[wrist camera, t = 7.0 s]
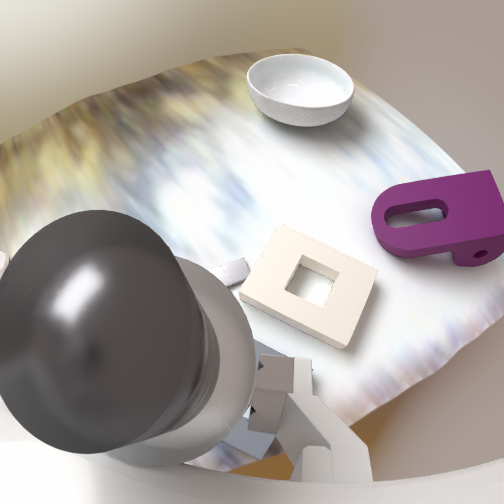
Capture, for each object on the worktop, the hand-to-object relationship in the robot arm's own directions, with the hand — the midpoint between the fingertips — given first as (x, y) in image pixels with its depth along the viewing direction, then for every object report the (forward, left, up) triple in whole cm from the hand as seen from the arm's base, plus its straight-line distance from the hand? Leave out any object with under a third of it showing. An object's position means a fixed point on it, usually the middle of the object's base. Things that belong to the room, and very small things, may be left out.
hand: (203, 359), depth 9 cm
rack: (+1, +12, -22) cm, 25 cm away
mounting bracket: (+13, +27, -22) cm, 38 cm away
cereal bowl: (-13, +40, -22) cm, 48 cm away
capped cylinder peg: (0, -1, -8) cm, 8 cm away
